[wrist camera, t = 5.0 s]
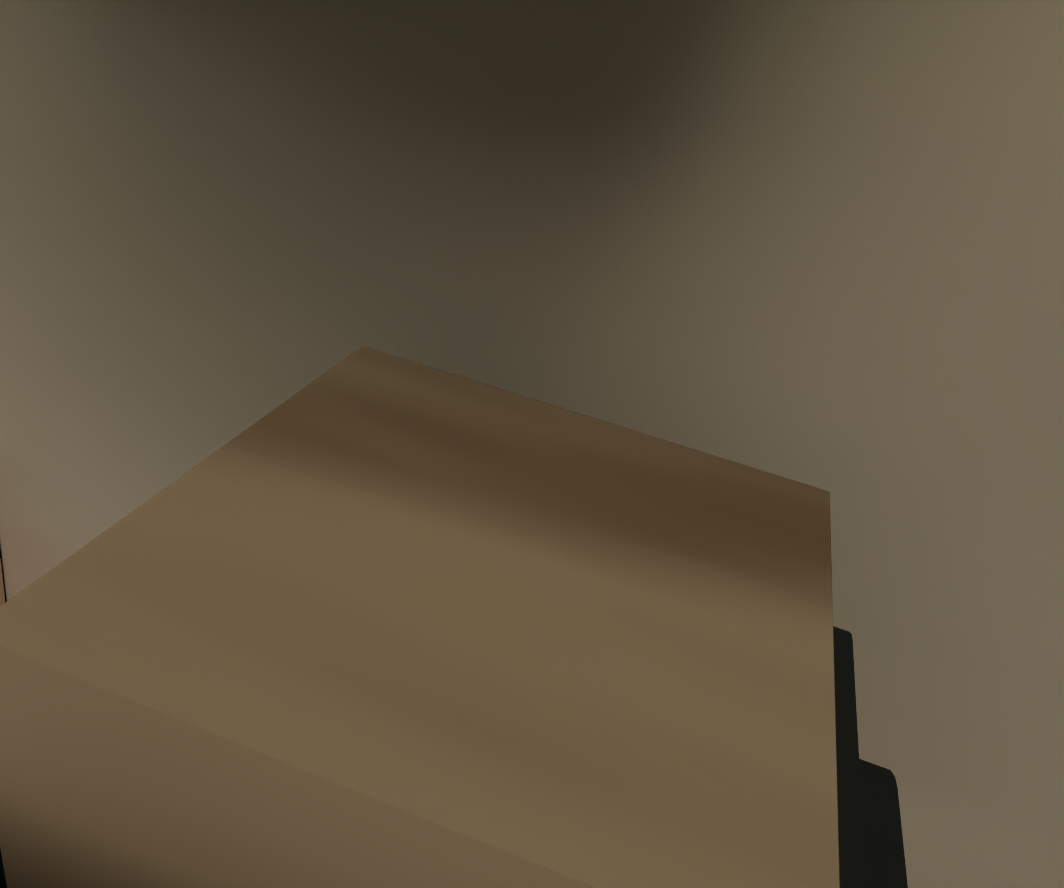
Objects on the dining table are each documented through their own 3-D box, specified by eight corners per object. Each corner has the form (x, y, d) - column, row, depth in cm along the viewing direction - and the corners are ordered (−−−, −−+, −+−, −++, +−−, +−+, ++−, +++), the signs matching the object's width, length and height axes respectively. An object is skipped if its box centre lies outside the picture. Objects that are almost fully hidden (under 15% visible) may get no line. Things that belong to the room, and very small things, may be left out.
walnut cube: (363, 346, 10) (-36, 632, 5) (829, 491, 9) (842, 985, 5) (326, 684, 13) (37, 1075, 8) (687, 822, 12) (600, 1353, 7)
